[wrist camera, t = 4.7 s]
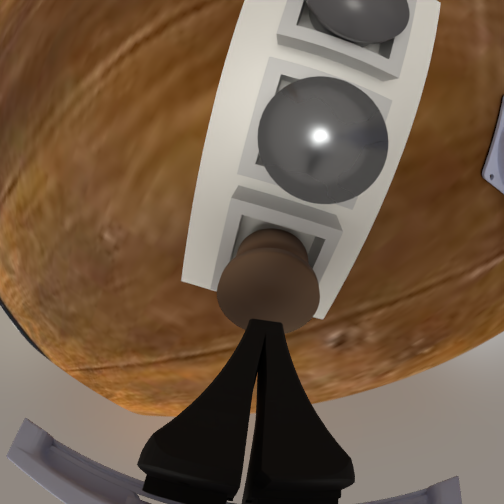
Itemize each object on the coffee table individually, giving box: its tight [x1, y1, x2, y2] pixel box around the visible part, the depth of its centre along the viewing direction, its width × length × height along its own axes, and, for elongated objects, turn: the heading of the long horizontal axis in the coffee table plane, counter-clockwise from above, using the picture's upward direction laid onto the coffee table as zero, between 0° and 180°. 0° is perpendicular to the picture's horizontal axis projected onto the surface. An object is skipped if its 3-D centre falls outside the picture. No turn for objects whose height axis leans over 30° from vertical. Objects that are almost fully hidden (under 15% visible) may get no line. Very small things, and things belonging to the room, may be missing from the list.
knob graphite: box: [306, 0, 410, 47], centre depth 9 cm, size 5×5×4 cm
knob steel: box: [258, 76, 388, 204], centre depth 11 cm, size 5×5×4 cm
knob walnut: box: [217, 228, 320, 334], centre depth 15 cm, size 5×5×4 cm
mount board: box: [181, 0, 440, 319], centre depth 14 cm, size 12×27×4 cm, turn 165°
